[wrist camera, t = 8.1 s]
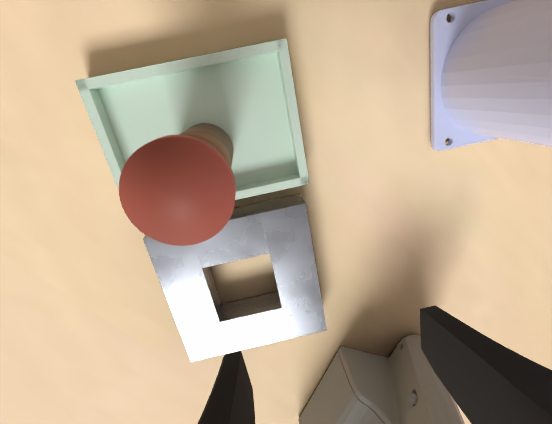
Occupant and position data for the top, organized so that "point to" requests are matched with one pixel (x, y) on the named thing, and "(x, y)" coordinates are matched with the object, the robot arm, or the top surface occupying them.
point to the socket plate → (251, 311)
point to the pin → (180, 186)
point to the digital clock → (381, 390)
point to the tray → (207, 111)
